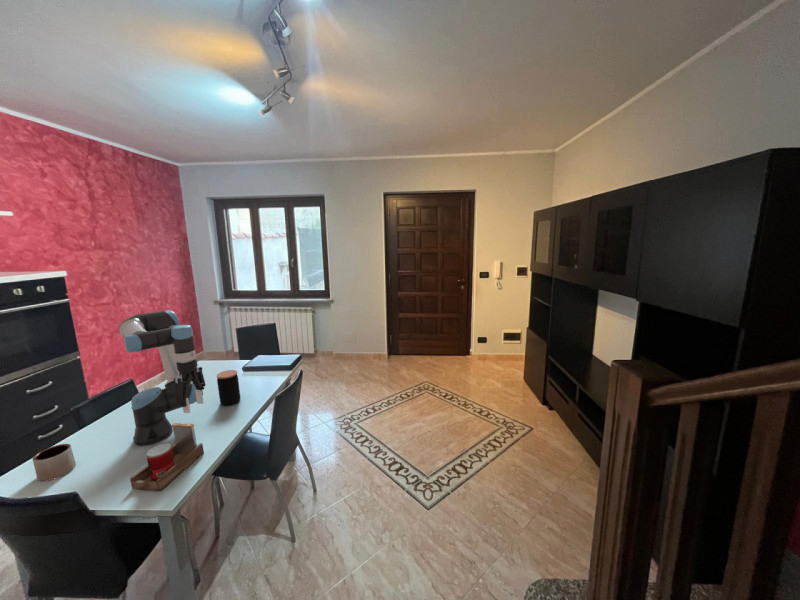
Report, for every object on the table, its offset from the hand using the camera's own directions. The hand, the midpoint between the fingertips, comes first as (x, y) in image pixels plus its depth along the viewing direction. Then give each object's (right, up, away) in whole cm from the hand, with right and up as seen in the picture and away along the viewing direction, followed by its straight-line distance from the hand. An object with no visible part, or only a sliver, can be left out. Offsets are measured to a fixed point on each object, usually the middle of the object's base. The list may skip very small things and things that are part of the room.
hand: (193, 407), depth 141 cm
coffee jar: (-7, -12, +43) cm, 45 cm away
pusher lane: (-2, -22, -12) cm, 25 cm away
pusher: (0, -19, -4) cm, 19 cm away
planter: (-49, -23, -12) cm, 55 cm away
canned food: (-2, -22, -15) cm, 27 cm away
